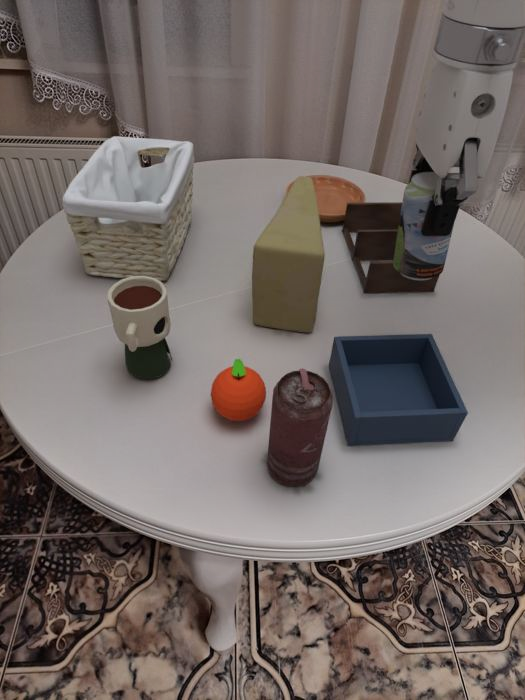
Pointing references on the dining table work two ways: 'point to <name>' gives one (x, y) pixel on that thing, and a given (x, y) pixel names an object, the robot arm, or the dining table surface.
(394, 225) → the drying rack
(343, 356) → the open square box
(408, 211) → the beverage can
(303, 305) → the cheese
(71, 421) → the dining table surface
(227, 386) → the clementine
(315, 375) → the can
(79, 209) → the basket
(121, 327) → the character mug
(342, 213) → the saucer
